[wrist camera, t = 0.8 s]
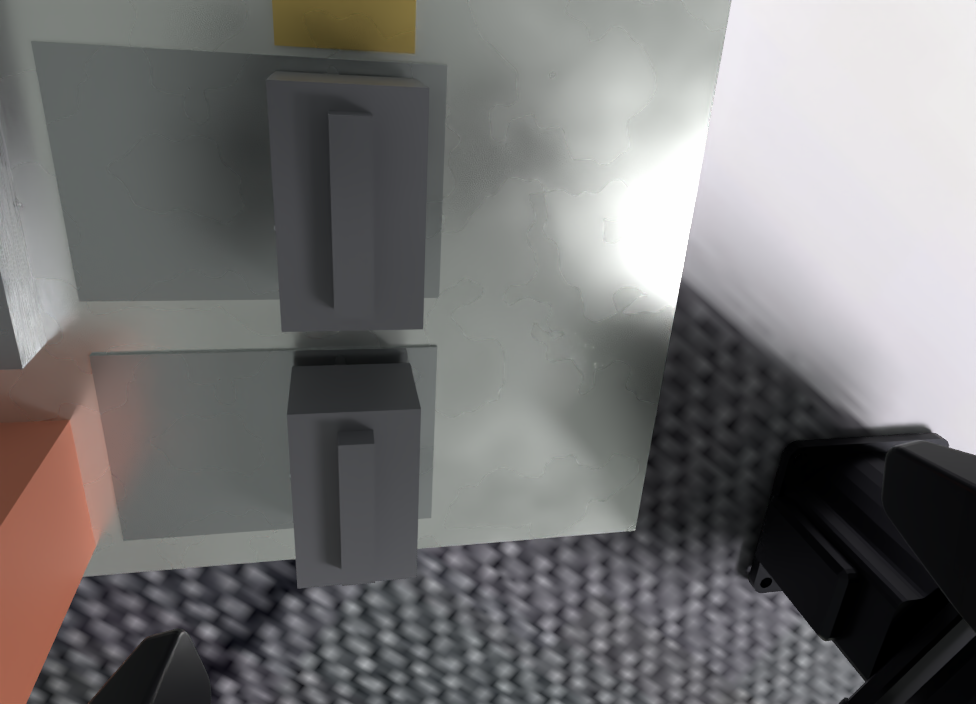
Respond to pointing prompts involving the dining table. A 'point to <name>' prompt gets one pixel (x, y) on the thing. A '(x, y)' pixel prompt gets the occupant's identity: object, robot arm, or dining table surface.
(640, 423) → the panel
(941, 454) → the robot arm
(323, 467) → the toggle
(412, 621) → the dining table surface
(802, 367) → the dining table surface
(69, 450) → the orange-red rectangular block
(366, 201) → the toggle
